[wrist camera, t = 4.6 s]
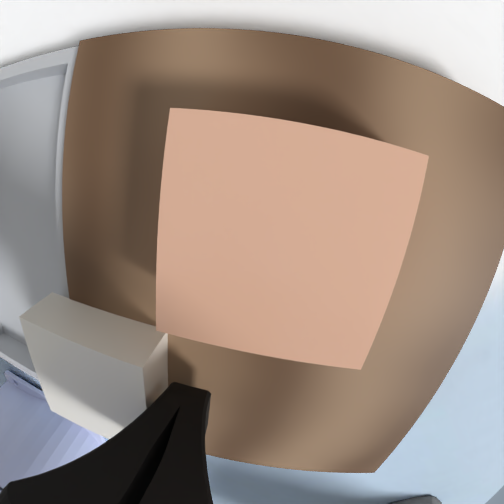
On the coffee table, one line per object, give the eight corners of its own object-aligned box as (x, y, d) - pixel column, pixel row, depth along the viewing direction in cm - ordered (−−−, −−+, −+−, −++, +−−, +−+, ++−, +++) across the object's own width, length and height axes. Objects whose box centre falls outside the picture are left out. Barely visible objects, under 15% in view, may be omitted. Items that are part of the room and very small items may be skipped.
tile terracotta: (182, 293, 9) (156, 330, 7) (200, 115, 7) (169, 107, 5) (350, 325, 8) (360, 369, 7) (397, 152, 7) (429, 155, 5)
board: (117, 387, 14) (97, 417, 12) (118, 55, 9) (80, 40, 7) (368, 436, 13) (374, 472, 11) (488, 122, 8) (528, 121, 6)
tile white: (72, 383, 11) (51, 410, 10) (52, 291, 10) (19, 316, 8) (169, 421, 11) (153, 456, 9) (168, 329, 9) (142, 367, 8)
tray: (4, 333, 15) (-13, 348, 13) (-14, 84, 10) (-40, 84, 8) (114, 386, 14) (98, 409, 13) (114, 55, 9) (84, 44, 7)
